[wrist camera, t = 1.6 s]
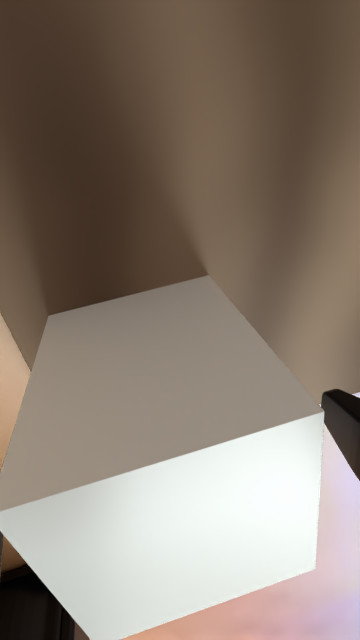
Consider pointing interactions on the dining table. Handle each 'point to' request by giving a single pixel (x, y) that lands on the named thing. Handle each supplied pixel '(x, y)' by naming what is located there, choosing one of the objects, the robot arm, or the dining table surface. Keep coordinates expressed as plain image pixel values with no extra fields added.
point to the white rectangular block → (160, 461)
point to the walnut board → (186, 165)
